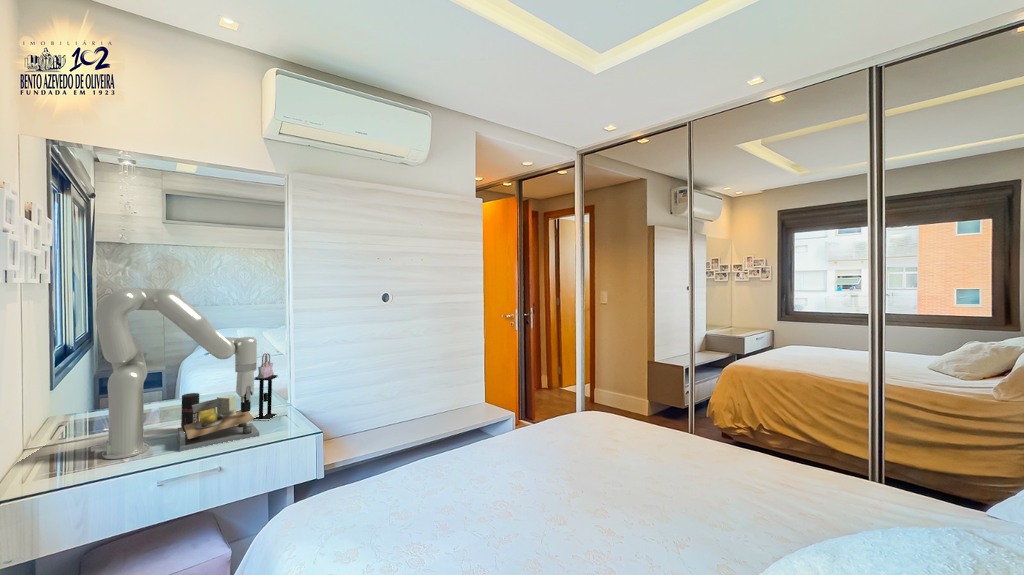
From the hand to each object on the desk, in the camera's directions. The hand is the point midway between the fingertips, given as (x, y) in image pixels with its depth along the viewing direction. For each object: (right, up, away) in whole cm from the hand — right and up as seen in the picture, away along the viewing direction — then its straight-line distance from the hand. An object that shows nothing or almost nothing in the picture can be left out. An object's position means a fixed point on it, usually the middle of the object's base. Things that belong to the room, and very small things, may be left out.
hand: (245, 411), depth 178 cm
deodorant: (-25, -9, +2) cm, 27 cm away
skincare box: (-16, -9, +12) cm, 22 cm away
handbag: (-4, -9, +21) cm, 24 cm away
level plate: (-8, -4, -4) cm, 10 cm away
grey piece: (-8, -10, -4) cm, 13 cm away
